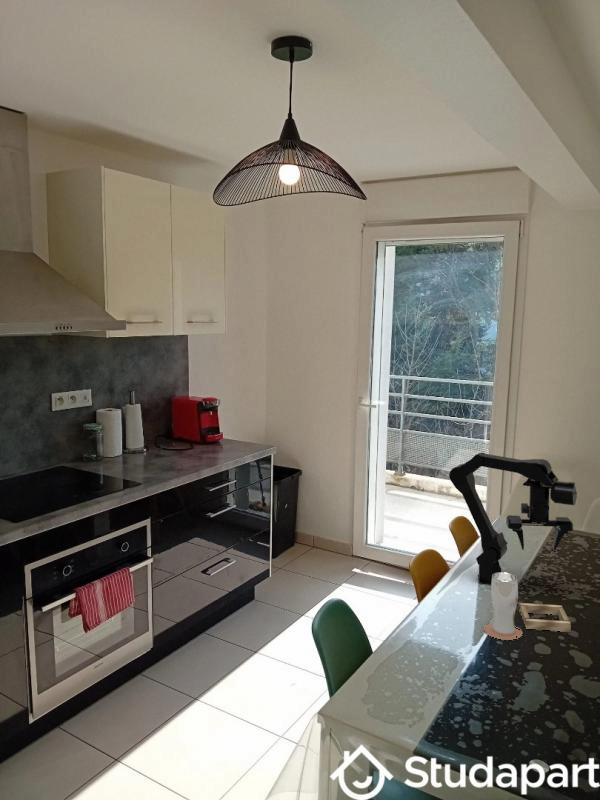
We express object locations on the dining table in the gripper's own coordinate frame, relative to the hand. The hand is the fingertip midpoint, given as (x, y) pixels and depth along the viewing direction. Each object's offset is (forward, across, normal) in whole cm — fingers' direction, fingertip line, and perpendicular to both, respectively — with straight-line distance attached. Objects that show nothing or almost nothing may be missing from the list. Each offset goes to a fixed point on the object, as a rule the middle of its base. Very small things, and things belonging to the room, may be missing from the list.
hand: (538, 550), depth 196 cm
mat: (+13, +14, +30) cm, 36 cm away
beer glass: (+13, +14, +30) cm, 35 cm away
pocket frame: (+13, +2, +22) cm, 26 cm away
